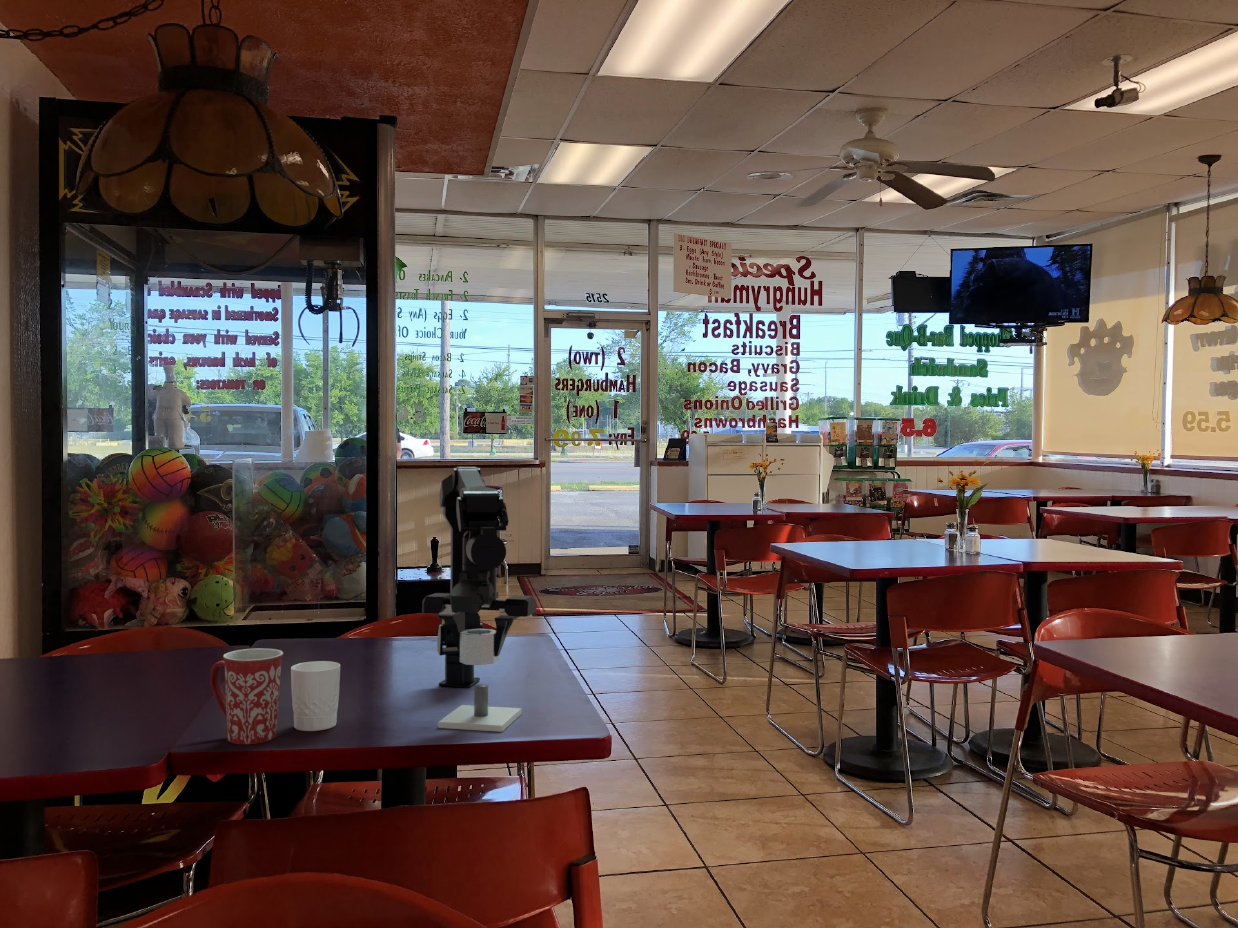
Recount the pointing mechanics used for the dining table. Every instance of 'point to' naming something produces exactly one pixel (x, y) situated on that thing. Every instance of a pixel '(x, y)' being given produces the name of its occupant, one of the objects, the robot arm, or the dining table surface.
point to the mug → (249, 693)
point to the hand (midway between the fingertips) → (479, 655)
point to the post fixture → (480, 714)
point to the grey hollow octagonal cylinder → (478, 647)
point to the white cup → (315, 694)
